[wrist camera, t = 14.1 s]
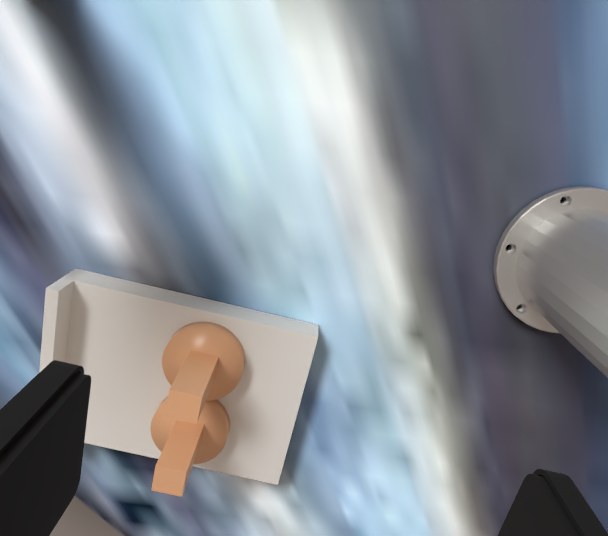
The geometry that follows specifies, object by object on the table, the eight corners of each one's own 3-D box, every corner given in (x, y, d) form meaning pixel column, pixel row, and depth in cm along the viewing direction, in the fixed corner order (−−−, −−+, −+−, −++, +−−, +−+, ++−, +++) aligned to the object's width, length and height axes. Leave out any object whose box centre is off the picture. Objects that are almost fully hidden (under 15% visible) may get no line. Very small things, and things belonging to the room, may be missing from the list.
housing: (318, 324, 45) (317, 384, 35) (279, 466, 50) (270, 552, 40) (75, 268, 44) (7, 313, 34) (61, 418, 49) (-2, 494, 39)
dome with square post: (240, 385, 47) (219, 454, 37) (227, 443, 49) (205, 523, 39) (168, 369, 46) (130, 435, 37) (158, 429, 48) (120, 506, 39)
